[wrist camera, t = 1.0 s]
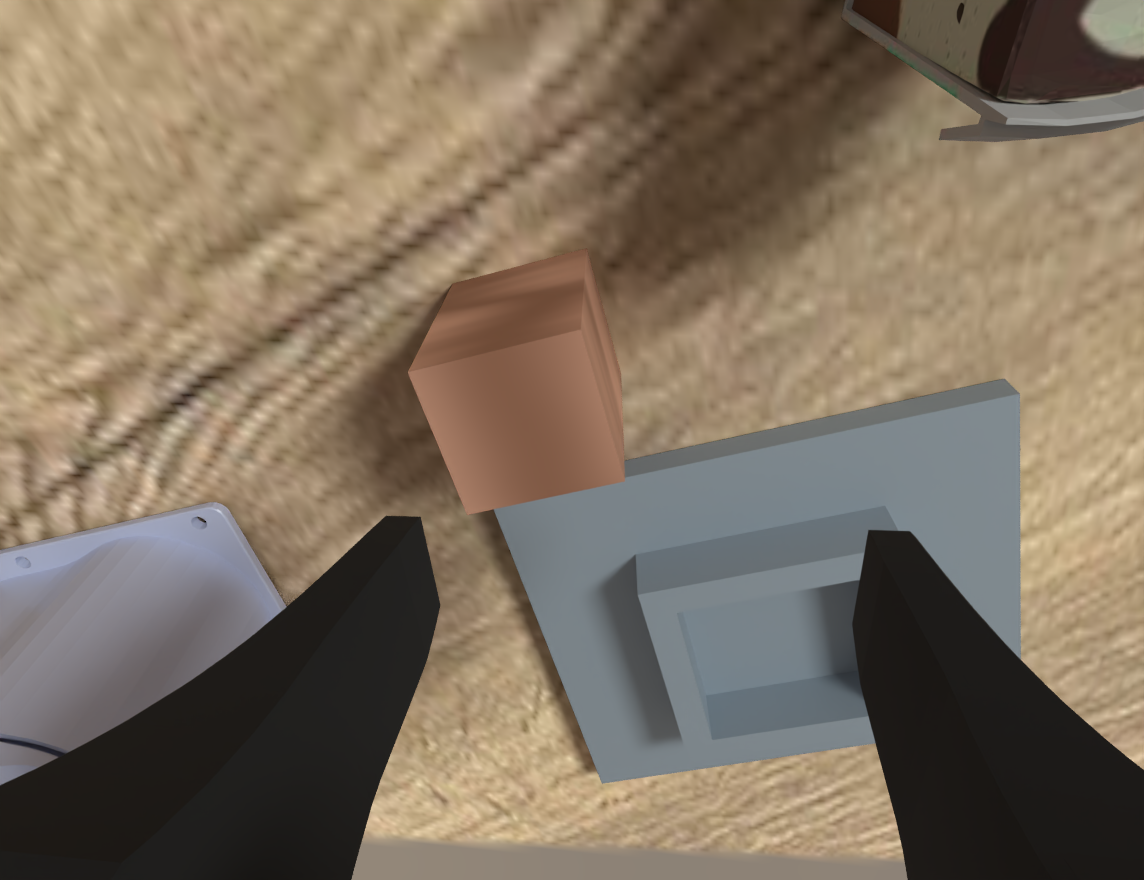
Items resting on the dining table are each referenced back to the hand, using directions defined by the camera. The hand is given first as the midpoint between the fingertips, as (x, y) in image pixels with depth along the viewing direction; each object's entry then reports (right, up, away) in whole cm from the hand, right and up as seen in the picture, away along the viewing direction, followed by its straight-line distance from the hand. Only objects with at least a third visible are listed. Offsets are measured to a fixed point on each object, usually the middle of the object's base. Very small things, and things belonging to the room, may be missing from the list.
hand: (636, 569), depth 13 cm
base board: (+6, -4, +15) cm, 17 cm away
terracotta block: (-2, +5, +10) cm, 12 cm away
